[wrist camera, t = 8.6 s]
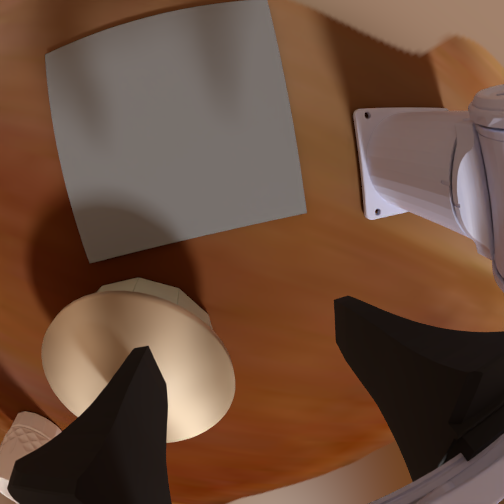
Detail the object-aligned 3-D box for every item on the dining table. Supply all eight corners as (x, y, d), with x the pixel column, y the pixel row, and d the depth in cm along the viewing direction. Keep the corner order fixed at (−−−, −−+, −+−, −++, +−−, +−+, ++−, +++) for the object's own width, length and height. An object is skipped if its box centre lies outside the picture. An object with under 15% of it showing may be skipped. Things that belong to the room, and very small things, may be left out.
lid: (207, 268, 16) (211, 316, 12) (249, 421, 21) (261, 471, 16) (15, 309, 15) (-20, 352, 11) (97, 439, 20) (88, 484, 15)
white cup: (5, 418, 23) (-20, 479, 14) (26, 397, 23) (-4, 469, 13) (55, 455, 26) (40, 516, 17) (83, 439, 25) (68, 512, 16)
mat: (265, 2, 15) (266, -1, 15) (303, 210, 21) (306, 212, 20) (48, 56, 14) (44, 54, 13) (92, 260, 19) (89, 263, 19)
